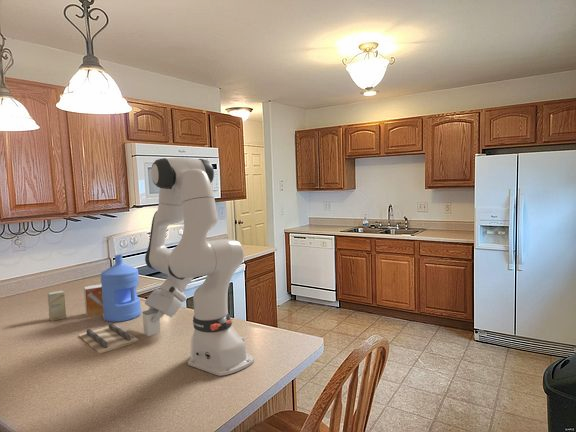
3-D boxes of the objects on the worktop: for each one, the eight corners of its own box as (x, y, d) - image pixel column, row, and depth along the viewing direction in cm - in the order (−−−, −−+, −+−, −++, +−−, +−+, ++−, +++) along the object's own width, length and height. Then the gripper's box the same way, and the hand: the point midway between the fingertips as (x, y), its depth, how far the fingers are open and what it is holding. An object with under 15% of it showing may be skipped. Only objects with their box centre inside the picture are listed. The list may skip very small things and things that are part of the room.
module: (160, 332, 152) (159, 310, 151) (148, 336, 149) (146, 313, 148) (156, 330, 155) (154, 308, 154) (143, 333, 152) (142, 311, 151)
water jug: (95, 321, 168) (90, 258, 166) (121, 309, 183) (116, 251, 181) (125, 323, 164) (120, 259, 161) (148, 311, 179) (144, 252, 176)
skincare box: (50, 321, 170) (48, 294, 169) (49, 319, 174) (46, 292, 173) (66, 317, 174) (64, 291, 173) (65, 315, 178) (62, 289, 177)
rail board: (139, 341, 144) (138, 334, 144) (99, 353, 135) (99, 346, 134) (115, 326, 161) (114, 320, 161) (78, 336, 152) (78, 329, 152)
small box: (87, 317, 174) (84, 289, 173) (85, 313, 179) (83, 286, 178) (106, 313, 178) (104, 286, 177) (104, 310, 184) (102, 283, 182)
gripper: (154, 282, 163) (133, 310, 157) (177, 290, 148) (155, 322, 142) (164, 290, 166) (144, 318, 160) (188, 299, 152) (167, 330, 146)
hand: (149, 320), depth 151 cm, fingers closed on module, 4 cm apart
